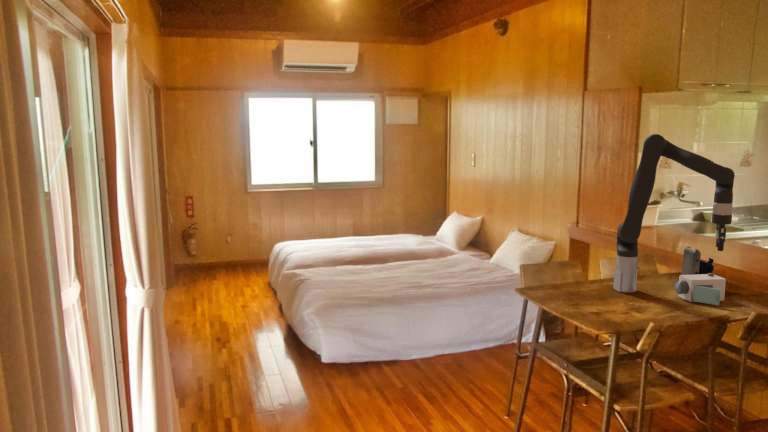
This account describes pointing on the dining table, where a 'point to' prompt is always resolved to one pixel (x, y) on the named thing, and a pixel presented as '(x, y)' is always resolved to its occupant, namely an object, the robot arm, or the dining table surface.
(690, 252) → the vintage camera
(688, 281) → the camera body
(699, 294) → the side door
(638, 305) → the dining table surface
